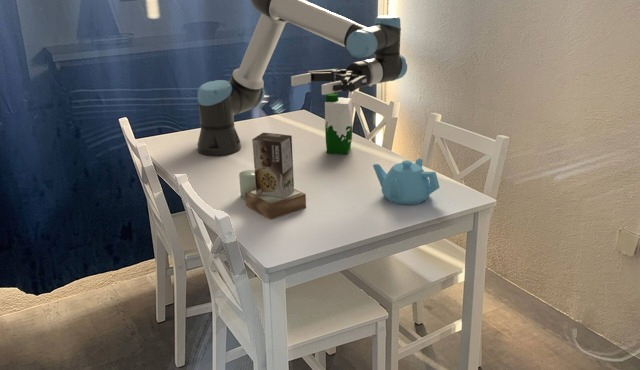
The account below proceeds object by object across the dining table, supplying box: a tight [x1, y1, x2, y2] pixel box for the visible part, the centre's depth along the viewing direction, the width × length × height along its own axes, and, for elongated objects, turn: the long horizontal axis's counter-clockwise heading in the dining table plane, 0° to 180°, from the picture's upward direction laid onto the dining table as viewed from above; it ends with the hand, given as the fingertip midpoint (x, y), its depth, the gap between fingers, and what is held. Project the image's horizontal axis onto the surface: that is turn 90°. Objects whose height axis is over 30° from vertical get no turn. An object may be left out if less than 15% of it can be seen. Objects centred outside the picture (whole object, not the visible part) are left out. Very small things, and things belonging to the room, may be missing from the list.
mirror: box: [245, 188, 307, 220], centre depth 176 cm, size 12×12×4 cm
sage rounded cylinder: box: [238, 169, 256, 201], centre depth 183 cm, size 6×6×7 cm
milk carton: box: [324, 92, 353, 155], centre depth 216 cm, size 9×9×20 cm
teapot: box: [372, 158, 440, 206], centre depth 180 cm, size 15×15×11 cm
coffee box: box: [251, 132, 295, 198], centre depth 173 cm, size 9×6×16 cm
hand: (306, 85), depth 174 cm, fingers open, 13 cm apart
